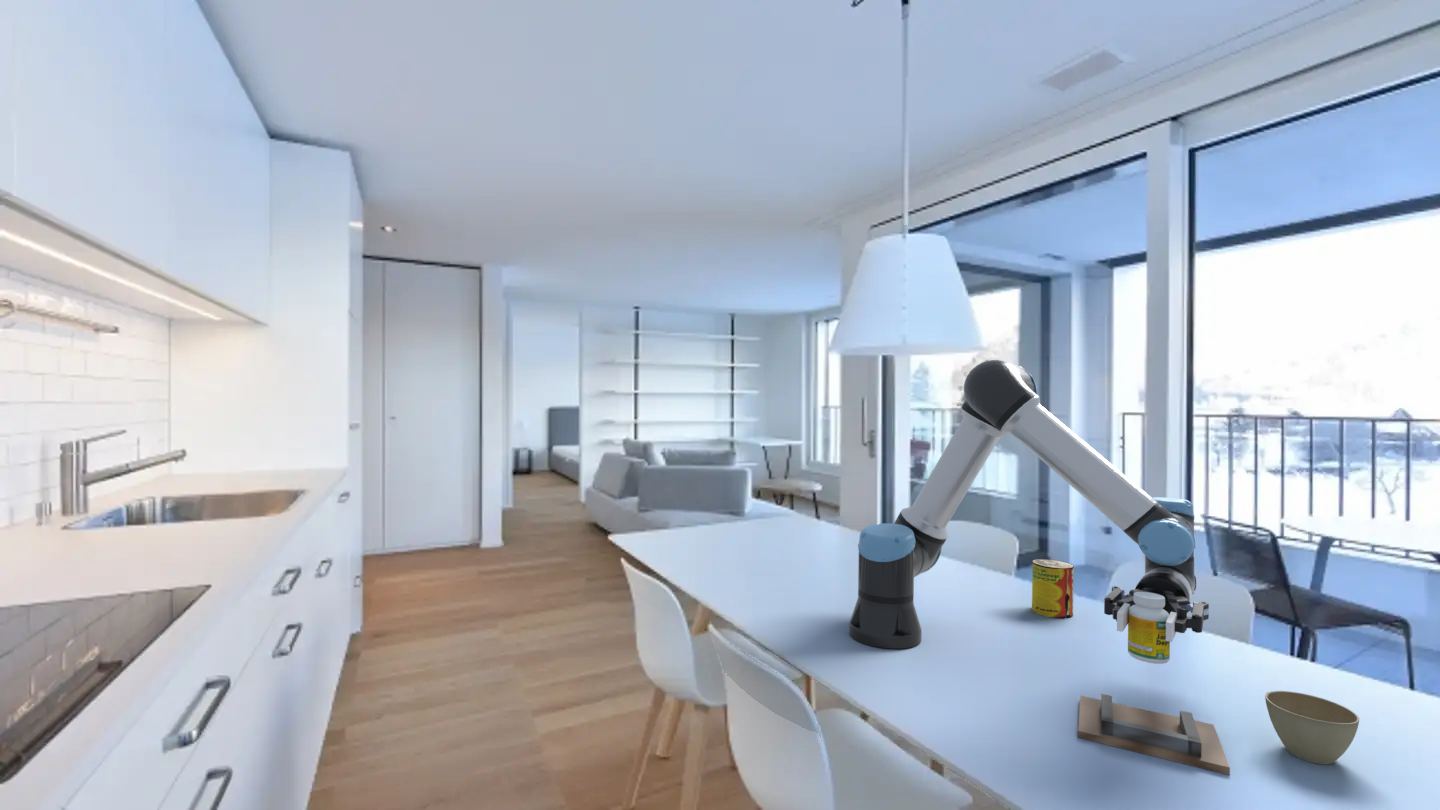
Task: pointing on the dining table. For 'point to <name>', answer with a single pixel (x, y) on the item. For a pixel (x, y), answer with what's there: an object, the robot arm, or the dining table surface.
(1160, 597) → the supplement bottle
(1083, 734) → the u rest
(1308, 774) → the dining table surface
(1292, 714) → the beige bowl
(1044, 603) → the yellow red tin can
